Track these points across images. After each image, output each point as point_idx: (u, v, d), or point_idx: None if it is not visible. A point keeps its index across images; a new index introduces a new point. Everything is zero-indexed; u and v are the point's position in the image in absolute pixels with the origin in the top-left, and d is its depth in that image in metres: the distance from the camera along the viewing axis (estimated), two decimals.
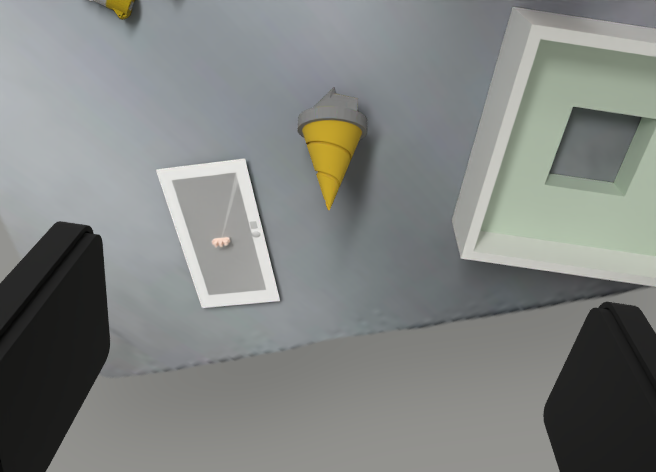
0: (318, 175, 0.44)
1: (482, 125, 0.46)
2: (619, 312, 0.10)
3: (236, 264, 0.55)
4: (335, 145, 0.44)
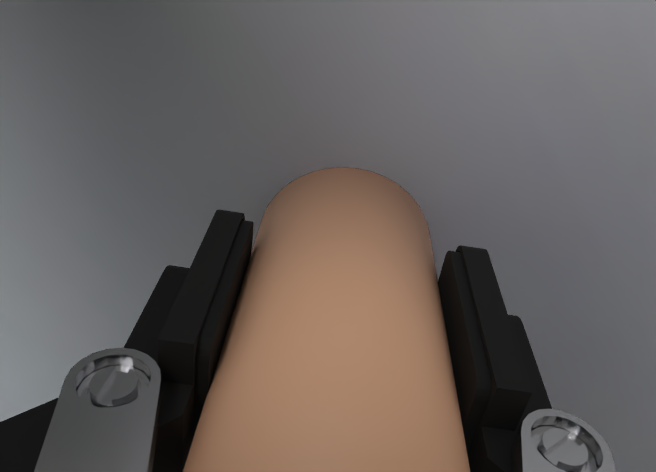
0: None
1: None
2: (466, 253, 0.11)
3: None
4: None
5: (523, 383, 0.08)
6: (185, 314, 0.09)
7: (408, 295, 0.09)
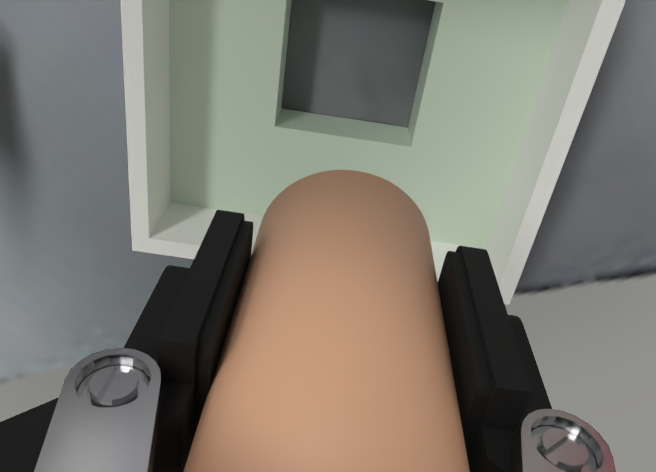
0: None
1: None
2: (466, 253, 0.11)
3: None
4: None
5: (523, 384, 0.08)
6: (185, 314, 0.09)
7: (408, 298, 0.09)
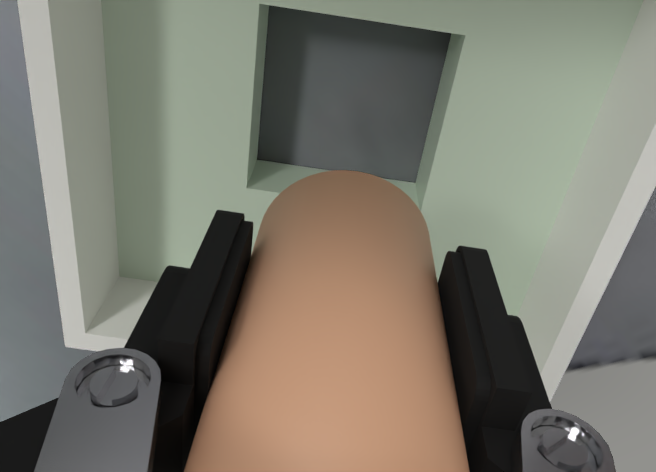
0: None
1: None
2: (466, 253, 0.11)
3: None
4: None
5: (523, 384, 0.08)
6: (185, 314, 0.09)
7: (408, 299, 0.09)
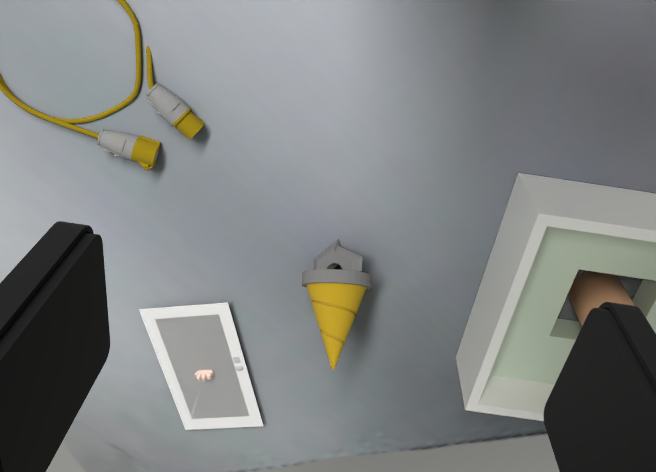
0: (322, 334, 0.44)
1: (487, 278, 0.46)
2: (619, 312, 0.10)
3: (220, 393, 0.55)
4: (340, 306, 0.43)
5: None
6: None
7: (633, 305, 0.43)
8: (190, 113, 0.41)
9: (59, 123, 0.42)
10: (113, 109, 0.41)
